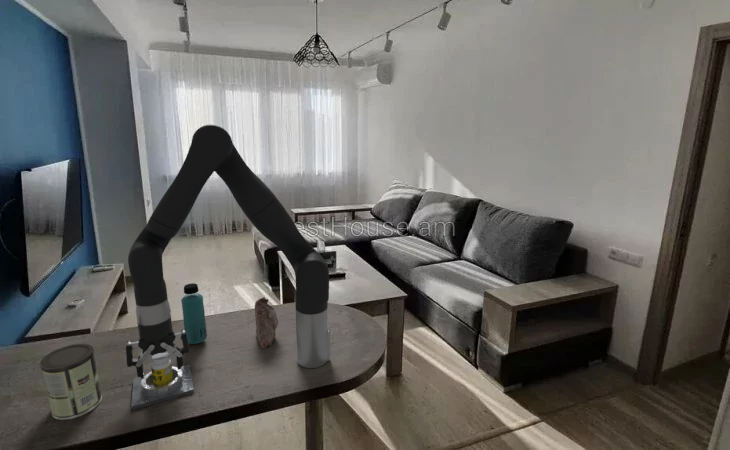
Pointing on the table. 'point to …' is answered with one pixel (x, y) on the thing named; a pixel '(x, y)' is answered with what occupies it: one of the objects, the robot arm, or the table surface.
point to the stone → (265, 322)
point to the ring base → (161, 388)
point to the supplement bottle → (161, 369)
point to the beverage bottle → (193, 314)
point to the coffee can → (71, 381)
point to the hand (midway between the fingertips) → (161, 372)
